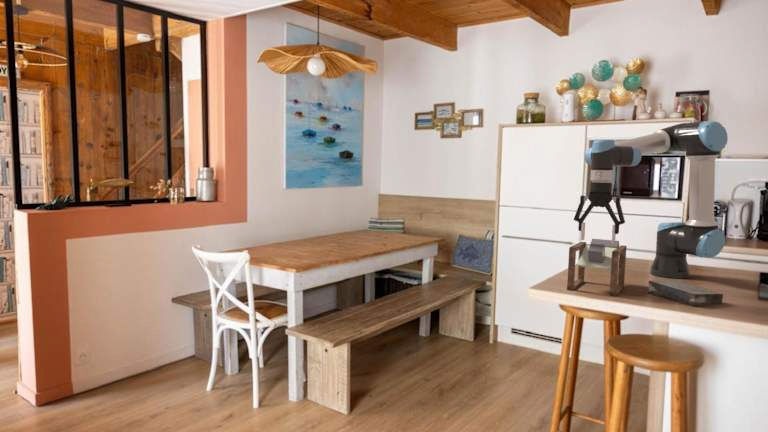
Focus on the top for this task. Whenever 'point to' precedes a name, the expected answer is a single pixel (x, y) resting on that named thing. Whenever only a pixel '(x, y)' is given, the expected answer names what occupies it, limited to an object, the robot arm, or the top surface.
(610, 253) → the hatch
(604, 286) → the top surface
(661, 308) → the top surface
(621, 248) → the walnut frame
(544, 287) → the top surface
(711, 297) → the block
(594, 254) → the grey cube
